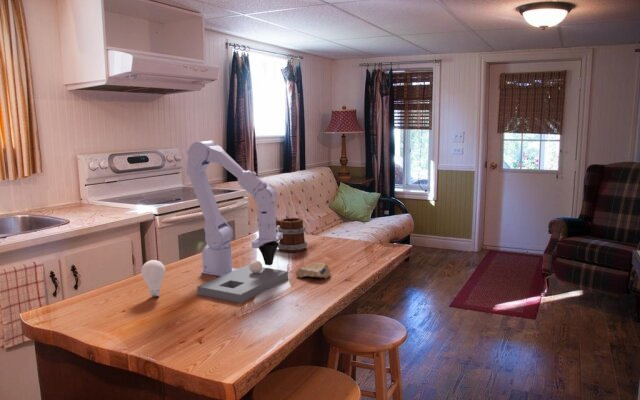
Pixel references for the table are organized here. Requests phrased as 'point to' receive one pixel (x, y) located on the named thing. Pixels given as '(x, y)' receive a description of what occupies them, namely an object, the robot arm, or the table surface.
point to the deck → (242, 284)
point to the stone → (314, 270)
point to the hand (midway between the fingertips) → (268, 264)
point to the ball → (255, 267)
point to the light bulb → (153, 276)
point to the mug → (291, 235)
